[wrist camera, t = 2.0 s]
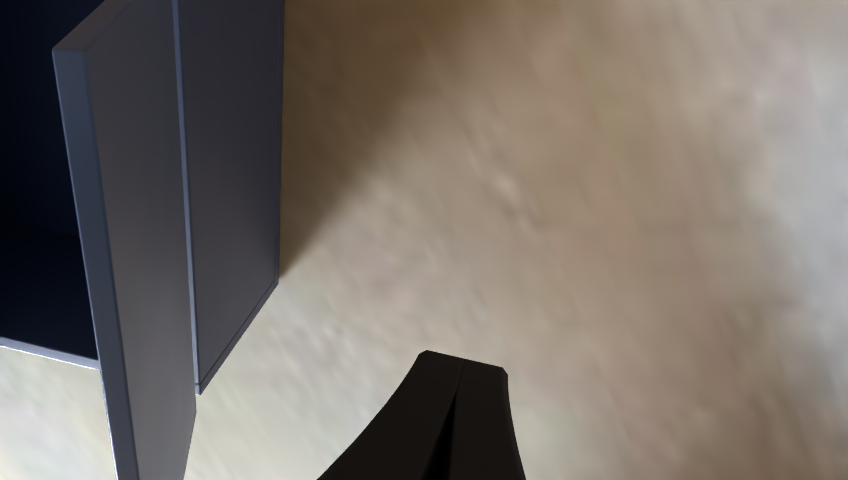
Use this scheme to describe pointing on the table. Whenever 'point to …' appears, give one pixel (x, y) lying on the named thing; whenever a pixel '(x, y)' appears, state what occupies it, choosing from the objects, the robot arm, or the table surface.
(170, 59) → the flap
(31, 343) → the carton
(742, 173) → the table surface
